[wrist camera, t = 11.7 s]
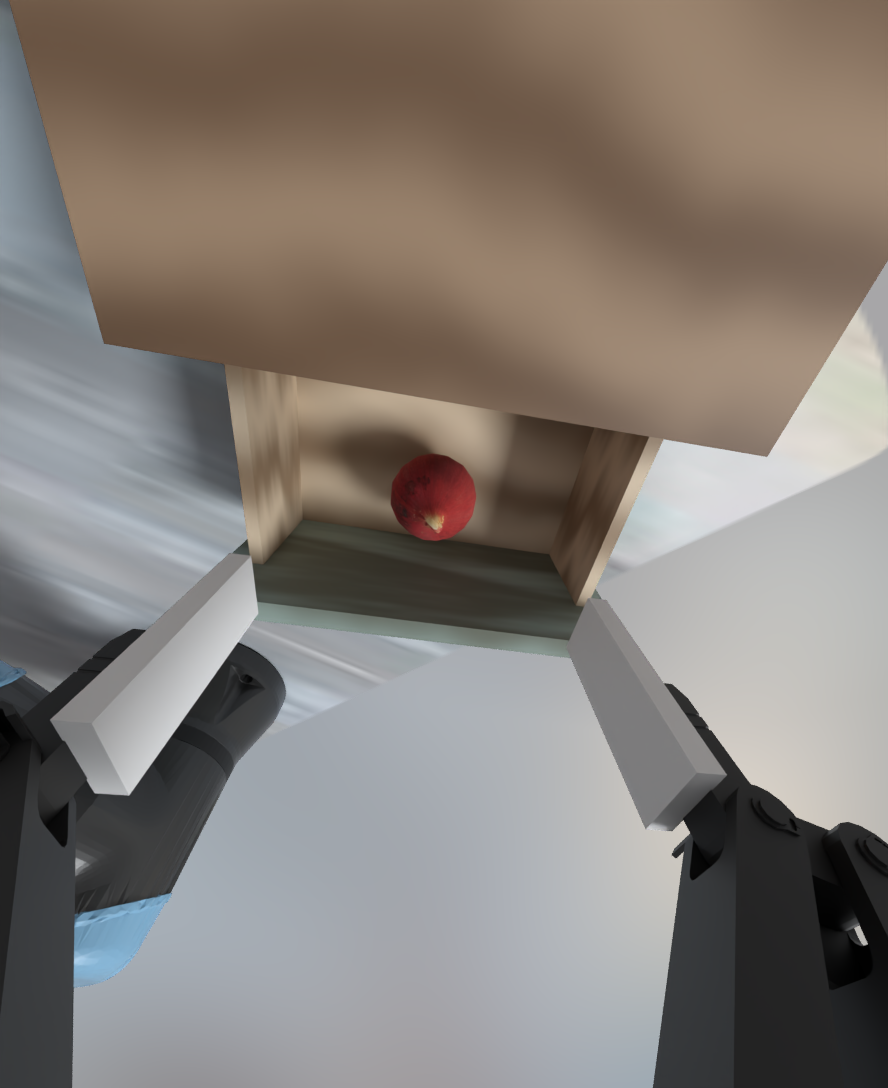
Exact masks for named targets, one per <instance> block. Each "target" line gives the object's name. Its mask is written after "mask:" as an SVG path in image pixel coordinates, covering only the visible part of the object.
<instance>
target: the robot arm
mask: <svg viewBox="0 0 888 1088" xmlns="http://www.w3.org/2000/svg"><path fill="white" fill-rule="evenodd" d="M257 615H258V606H257V598H256V590H255V582H254V574H253V566H252V558H251V556H249V555H241V554H233V553H229V554H228V555H227V556H226V557H225V558H224V559H223V560H222V561H221V562H220V563H218V564H217V565H216V566H215V567H214V568H213V569H212V570H211V571H210V572H209V573H208V574H207V575H206V576H204V577H203V578H202V579H201V580H200V581H199V582H198V583H197V584H196V585H195V586H194V587H193V588H192V589H190V590H189V591H188V592H187V593H186V594H185V595H184V596H183V597H182V598H181V599H180V600H179V601H178V602H176V603H175V604H174V605H173V606H172V607H171V608H170V609H169V610H168V611H167V612H166V613H165V614H164V615H162V616H161V617H160V618H159V619H158V620H157V621H156V622H155V623H154V624H153V625H152V626H151V627H150V628H148V629H147V630H138V629H132V630H130V631H128V632H126V633H125V634H123V635H121V636H119V637H117V638H115V639H113V640H112V641H110V642H109V643H108V644H107V645H105V646H104V647H103V648H102V649H101V650H100V651H98V652H97V653H96V654H95V655H94V656H93V658H92V659H89V660H88V661H87V662H86V663H84V664H83V665H82V666H81V667H80V668H79V669H78V671H77V672H74V673H73V674H72V675H70V676H69V677H68V678H67V679H66V680H65V681H63V682H62V683H61V684H60V685H59V686H58V687H57V688H55V689H54V690H53V691H52V692H51V693H50V692H49V691H47V690H46V689H44V688H43V687H41V686H40V685H38V684H37V683H35V682H34V681H32V680H31V679H29V678H28V677H26V676H25V674H26V673H27V672H26V671H25V670H23V669H22V668H13V667H12V666H10V665H8V664H6V663H5V662H3V661H1V660H0V1088H72V1057H73V1056H72V1054H73V992H74V988H75V987H83V986H89V985H93V984H98V983H101V982H103V981H105V980H108V979H109V978H111V977H113V976H114V975H116V974H117V973H118V972H120V971H121V970H122V969H123V968H124V967H125V966H126V965H127V964H128V963H129V962H130V961H131V959H132V958H133V957H134V955H135V954H136V953H137V951H138V950H139V948H140V946H141V945H142V943H143V941H144V939H145V937H146V936H147V934H148V932H149V930H150V929H151V927H152V925H153V923H154V922H155V920H156V918H157V917H158V915H159V913H160V911H161V909H162V908H163V906H164V904H165V903H167V902H168V900H169V899H170V897H171V894H172V893H171V891H172V889H173V887H174V885H175V883H176V881H177V879H178V877H179V875H180V873H181V871H182V869H183V867H184V865H185V863H186V861H187V859H188V857H189V855H190V853H191V851H192V849H193V847H194V845H195V843H196V841H197V839H198V837H199V835H200V833H201V831H202V829H203V827H204V825H205V824H206V821H207V820H208V818H209V816H210V814H211V811H212V810H213V807H214V806H215V804H216V802H217V800H218V798H219V796H220V794H221V792H222V790H223V788H224V786H225V784H226V782H227V780H228V778H229V776H230V774H231V772H232V770H233V769H234V767H235V765H236V763H237V762H238V761H239V760H240V759H241V757H243V755H244V754H245V753H246V752H247V751H248V750H249V749H250V748H251V746H252V745H253V744H254V743H255V742H256V741H257V740H258V739H259V738H260V737H261V736H262V734H263V733H264V732H265V731H266V730H267V729H268V728H269V727H270V726H271V724H272V723H273V722H274V720H275V719H276V717H277V715H278V713H279V711H280V709H281V707H282V705H283V703H284V700H285V695H286V690H285V685H284V682H283V679H282V677H281V676H280V674H279V673H278V671H277V670H276V669H275V668H274V667H273V665H272V664H270V663H269V662H268V661H267V660H266V659H265V658H263V657H262V656H261V655H259V654H257V653H256V652H254V651H252V650H250V649H249V648H246V647H244V646H242V645H240V644H237V643H238V641H239V640H240V639H241V637H242V636H243V634H244V633H245V632H246V630H247V629H248V627H249V626H250V625H251V623H252V622H253V620H254V619H255V618H256V616H257ZM566 648H567V651H568V653H569V655H570V658H571V660H572V662H573V664H574V667H575V669H576V671H577V674H578V676H579V678H580V680H581V683H582V685H583V687H584V689H585V692H586V694H587V696H588V699H589V701H590V703H591V705H592V708H593V710H594V712H595V715H596V717H597V719H598V721H599V724H600V726H601V728H602V730H603V733H604V735H605V737H606V740H607V742H608V744H609V746H610V749H611V751H612V753H613V756H614V758H615V760H616V762H617V765H618V767H619V769H620V772H621V774H622V776H623V778H624V781H625V783H626V785H627V788H628V790H629V792H630V794H631V797H632V799H633V801H634V804H635V806H636V808H637V810H638V813H639V815H640V817H641V819H642V822H643V824H644V826H645V829H648V830H662V831H673V830H674V829H675V827H677V826H678V825H679V824H680V822H682V821H683V820H684V822H685V824H686V826H687V828H688V829H689V831H690V834H689V835H688V836H687V837H686V838H685V839H684V840H683V841H682V842H681V843H680V844H679V845H678V846H677V847H676V848H675V849H674V851H673V853H672V856H674V857H675V858H677V857H678V856H679V855H680V854H681V853H683V852H684V855H683V863H682V871H681V878H680V885H679V893H678V901H677V908H676V916H675V923H674V932H673V939H672V947H671V955H670V962H669V969H668V978H667V985H666V992H665V1000H664V1007H663V1015H662V1023H661V1030H660V1038H659V1046H658V1053H657V1061H656V1069H655V1076H654V1084H653V1088H888V844H887V843H886V842H884V841H883V840H882V839H881V838H879V837H878V836H877V835H875V834H874V833H872V832H870V831H868V830H867V829H865V828H863V827H861V826H859V825H856V824H853V823H850V822H845V823H840V824H838V825H837V826H835V827H834V828H833V829H831V830H830V831H829V830H827V829H824V828H822V827H819V826H816V825H814V824H811V823H809V822H806V821H804V820H801V819H799V818H796V817H795V816H794V814H793V813H792V812H791V811H790V810H789V809H788V808H787V807H786V806H785V805H784V804H783V803H782V802H781V801H780V800H779V799H777V798H776V797H775V796H773V795H772V794H771V793H769V792H768V791H766V790H764V789H762V788H760V787H758V786H755V785H751V784H750V783H749V781H748V780H747V779H746V778H745V776H744V775H743V773H742V772H741V771H740V769H739V768H738V767H737V765H736V764H735V762H734V761H733V760H732V758H731V757H730V756H729V754H728V753H727V752H726V750H725V749H724V747H723V746H722V745H721V743H720V742H719V741H718V739H717V738H716V736H715V735H714V734H713V732H712V731H711V730H709V729H708V726H707V724H706V723H705V721H704V720H703V719H702V718H701V717H699V713H698V712H697V710H696V709H695V708H694V706H693V705H692V704H691V702H690V701H689V699H688V698H687V697H686V696H684V695H683V694H682V693H681V692H680V691H679V690H678V689H677V688H676V687H674V686H673V685H672V684H666V683H663V682H662V680H661V679H660V677H659V676H658V674H657V673H656V671H655V670H654V669H653V667H652V666H651V664H650V663H649V661H648V660H647V659H646V657H645V656H644V654H643V653H642V651H641V650H640V648H639V647H638V645H637V644H636V643H635V641H634V640H633V638H632V637H631V635H630V634H629V633H628V631H627V630H626V628H625V627H624V625H623V624H622V622H621V621H620V619H619V618H618V616H617V615H616V613H615V612H614V611H613V609H612V608H611V607H610V605H609V604H608V602H607V600H602V599H594V598H588V599H587V602H586V604H585V606H584V608H583V611H582V613H581V615H580V617H579V620H578V622H577V624H576V626H575V629H574V631H573V633H572V635H571V638H570V640H569V642H568V644H567V647H566ZM859 925H860V927H861V929H862V931H863V933H864V936H865V938H866V940H867V943H868V945H865V946H863V945H862V944H861V942H860V940H859V938H858V936H857V934H856V932H855V929H854V928H855V927H857V926H859Z"/></svg>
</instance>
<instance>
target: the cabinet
mask: <svg viewBox="0 0 888 1088" xmlns="http://www.w3.org/2000/svg"><path fill="white" fill-rule="evenodd" d="M9 2H10V6H11V9H12V13H13V17H14V20H15V24H16V27H17V31H18V35H19V38H20V42H21V45H22V49H23V53H24V56H25V60H26V64H27V67H28V71H29V74H30V78H31V82H32V85H33V89H34V92H35V96H36V100H37V103H38V107H39V110H40V114H41V118H42V121H43V125H44V128H45V132H46V136H47V139H48V143H49V147H50V150H51V154H52V157H53V161H54V165H55V168H56V172H57V175H58V179H59V183H60V186H61V190H62V193H63V197H64V201H65V204H66V208H67V212H68V215H69V219H70V222H71V226H72V230H73V233H74V237H75V240H76V244H77V248H78V251H79V255H80V258H81V262H82V266H83V269H84V273H85V276H86V280H87V284H88V287H89V291H90V295H91V298H92V302H93V305H94V309H95V313H96V316H97V320H98V323H99V327H100V331H101V334H102V338H103V341H104V344H110V345H116V346H121V347H127V348H133V349H139V350H145V351H151V352H157V353H162V354H168V355H174V356H180V357H186V358H192V359H198V360H203V361H209V362H215V363H221V364H227V365H233V366H239V367H244V368H250V369H256V370H262V371H268V372H274V373H280V374H285V375H291V376H297V377H303V378H309V379H315V380H321V381H326V382H332V383H338V384H344V385H350V386H356V387H361V388H367V389H373V390H379V391H385V392H391V393H397V394H402V395H408V396H414V397H420V398H426V399H432V400H438V401H443V402H449V403H455V404H461V405H467V406H473V407H479V408H484V409H490V410H496V411H502V412H508V413H514V414H520V415H525V416H531V417H537V418H543V419H549V420H555V421H561V422H566V423H572V424H578V425H584V426H590V427H596V428H602V429H607V430H613V431H619V432H625V433H631V434H637V435H643V436H648V437H654V438H660V439H666V440H672V441H678V442H684V443H689V444H695V445H701V446H707V447H713V448H719V449H725V450H730V451H736V452H742V453H748V454H754V455H760V456H766V457H767V456H768V455H769V453H770V451H771V450H772V448H773V446H774V445H775V443H776V441H777V440H778V438H779V437H780V435H781V433H782V432H783V430H784V428H785V427H786V425H787V424H788V422H789V420H790V419H791V417H792V415H793V414H794V412H795V411H796V409H797V407H798V406H799V404H800V402H801V401H802V399H803V398H804V396H805V394H806V393H807V391H808V389H809V388H810V386H811V385H812V383H813V381H814V380H815V378H816V376H817V375H818V373H819V372H820V370H821V368H822V367H823V365H824V363H825V362H826V360H827V358H828V357H829V355H830V354H831V352H832V350H833V349H834V347H835V345H836V344H837V342H838V341H839V339H840V337H841V336H842V334H843V332H844V331H845V329H846V328H847V326H848V324H849V323H850V321H851V319H852V318H853V316H854V315H855V313H856V311H857V310H858V308H859V306H860V305H861V303H862V301H863V300H864V298H865V297H866V295H867V293H868V292H869V290H870V288H871V287H872V285H873V283H874V282H875V280H876V279H877V277H878V275H879V274H880V272H881V271H882V269H883V267H884V266H885V264H886V262H887V261H888V0H9Z"/></svg>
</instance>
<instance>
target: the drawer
mask: <svg viewBox="0 0 888 1088" xmlns="http://www.w3.org/2000/svg"><path fill="white" fill-rule="evenodd" d="M224 367H225V374H226V382H227V389H228V396H229V404H230V411H231V419H232V426H233V434H234V441H235V449H236V456H237V463H238V471H239V478H240V486H241V493H242V501H243V508H244V516H245V523H246V530H247V538H248V539H247V540H246V541H245V542H244V543H243V544H242V545H241V546H240V547H238V548H237V549H236V550H235V551H234V552H233V554H241V555H249V556H251V558H252V566H253V574H254V582H255V590H256V598H257V606H258V615H257V616H256V618H255V619H254V620H258V621H266V622H274V623H283V624H291V625H299V626H308V627H316V628H324V629H333V630H341V631H349V632H358V633H366V634H374V635H383V636H391V637H399V638H408V639H416V640H424V641H433V642H441V643H449V644H458V645H466V646H475V647H483V648H491V649H499V650H508V651H516V652H524V653H533V654H542V655H549V656H558V657H567V658H570V655H569V653H568V651H567V648H566V647H567V644H568V642H569V640H570V638H571V635H572V633H573V631H574V629H575V626H576V624H577V622H578V620H579V617H580V615H581V613H582V611H583V608H584V606H585V604H586V602H587V599H588V598H594V599H601V597H600V596H599V594H598V592H597V591H596V589H595V588H596V586H597V584H598V581H599V579H600V577H601V575H602V573H603V571H604V568H605V566H606V564H607V562H608V560H609V557H610V555H611V553H612V551H613V549H614V546H615V544H616V542H617V540H618V538H619V535H620V533H621V531H622V529H623V527H624V525H625V522H626V520H627V518H628V516H629V514H630V511H631V509H632V507H633V505H634V503H635V500H636V498H637V496H638V494H639V492H640V490H641V487H642V485H643V483H644V481H645V479H646V476H647V474H648V472H649V470H650V468H651V465H652V463H653V461H654V459H655V457H656V454H657V452H658V450H659V448H660V446H661V444H662V441H663V439H660V438H654V437H648V436H643V435H637V434H631V433H625V432H619V431H613V430H607V429H602V428H596V427H590V426H584V425H578V424H572V423H566V422H561V421H555V420H549V419H543V418H537V417H531V416H525V415H520V414H514V413H508V412H502V411H496V410H490V409H484V408H479V407H473V406H467V405H461V404H455V403H449V402H443V401H438V400H432V399H426V398H420V397H414V396H408V395H402V394H397V393H391V392H385V391H379V390H373V389H367V388H361V387H356V386H350V385H344V384H338V383H332V382H326V381H321V380H315V379H309V378H303V377H297V376H291V375H285V374H280V373H274V372H268V371H262V370H256V369H250V368H244V367H239V366H233V365H227V364H224ZM432 453H434V454H440V455H445V456H449V457H450V458H452V459H454V460H455V461H457V462H458V463H460V464H462V465H463V466H464V467H465V468H466V470H467V471H468V473H469V474H470V476H471V477H472V479H473V481H474V486H475V491H476V501H475V506H474V512H473V515H472V517H471V519H470V520H469V522H468V523H467V525H466V526H465V528H464V529H462V530H461V531H460V532H458V533H457V534H456V535H454V536H453V537H451V538H447V539H442V540H438V541H432V540H423V539H420V538H418V537H416V536H414V535H412V534H410V533H409V532H408V531H407V530H406V529H405V528H404V527H403V526H402V525H401V524H400V523H399V522H398V520H397V519H396V516H395V514H394V512H393V509H392V507H391V490H392V482H393V480H394V479H395V477H396V475H397V474H398V472H399V471H400V469H401V468H402V467H403V466H404V465H405V464H406V463H408V462H410V461H411V460H413V459H414V458H416V457H417V456H421V455H426V454H432Z"/></svg>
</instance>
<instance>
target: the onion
mask: <svg viewBox="0 0 888 1088" xmlns="http://www.w3.org/2000/svg"><path fill="white" fill-rule="evenodd" d="M475 501H476V491H475V486H474V481H473V479H472V477H471V476H470V474H469V473H468V471H467V470H466V468H465V467H464V466H463V465H462V464H460V463H458V462H457V461H455V460H454V459H452V458H450V457H449V456H445V455H440V454H434V453H432V454H426V455H421V456H417V457H416V458H414V459H413V460H411V461H410V462H408V463H406V464H405V465H404V466H403V467H402V468H401V469H400V471H399V472H398V474H397V475H396V477H395V479H394V480H393V482H392V490H391V507H392V509H393V512H394V514H395V516H396V519H397V520H398V522H399V523H400V524H401V525H402V526H403V527H404V528H405V529H406V530H407V531H408V532H409V533H410V534H412V535H414V536H416V537H418V538H420V539H423V540H432V541H438V540H442V539H447V538H451V537H453V536H454V535H456V534H457V533H458V532H460V531H461V530H462V529H464V528H465V526H466V525H467V523H468V522H469V520H470V519H471V517H472V515H473V512H474V506H475Z"/></svg>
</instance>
